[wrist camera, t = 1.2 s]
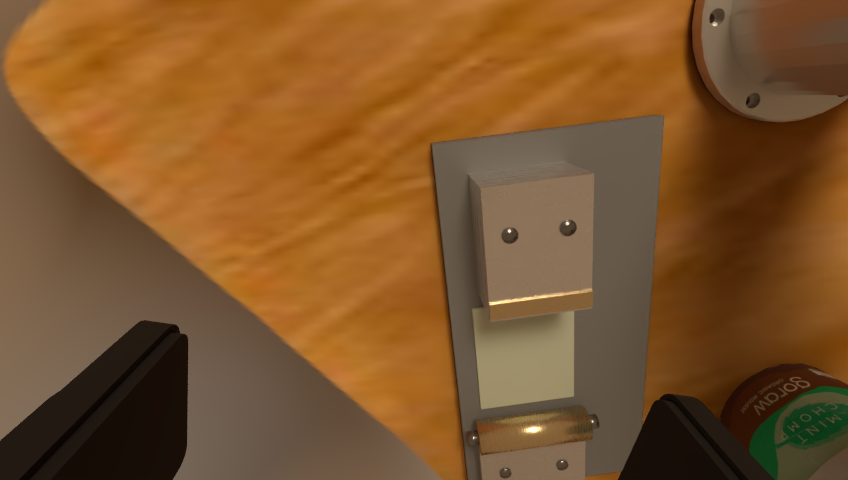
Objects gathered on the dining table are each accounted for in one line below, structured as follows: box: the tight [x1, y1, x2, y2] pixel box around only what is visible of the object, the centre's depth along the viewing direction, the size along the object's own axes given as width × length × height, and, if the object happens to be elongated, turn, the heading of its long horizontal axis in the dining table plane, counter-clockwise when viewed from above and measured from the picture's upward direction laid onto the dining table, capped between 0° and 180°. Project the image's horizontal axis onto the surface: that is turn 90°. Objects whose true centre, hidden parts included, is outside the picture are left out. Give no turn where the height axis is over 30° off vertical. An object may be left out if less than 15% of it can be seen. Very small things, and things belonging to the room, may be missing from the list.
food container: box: [721, 364, 848, 480], centre depth 29 cm, size 12×6×10 cm, turn 140°
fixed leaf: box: [466, 405, 600, 480], centre depth 32 cm, size 10×8×2 cm
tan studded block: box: [468, 162, 594, 322], centre depth 25 cm, size 6×8×4 cm
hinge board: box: [431, 115, 664, 480], centre depth 30 cm, size 14×28×1 cm, turn 7°
